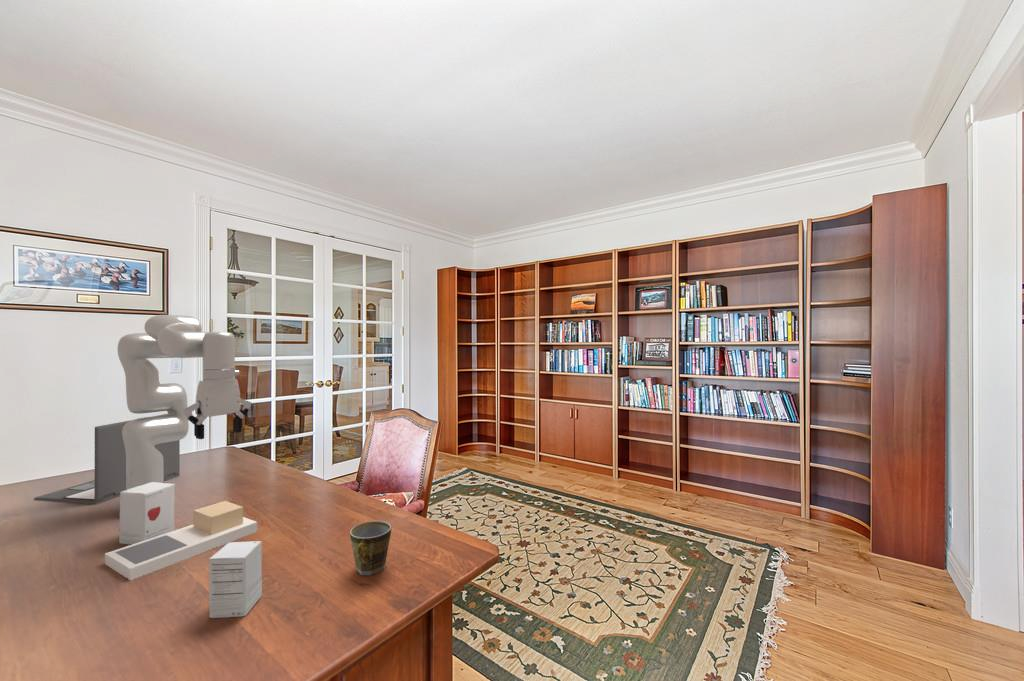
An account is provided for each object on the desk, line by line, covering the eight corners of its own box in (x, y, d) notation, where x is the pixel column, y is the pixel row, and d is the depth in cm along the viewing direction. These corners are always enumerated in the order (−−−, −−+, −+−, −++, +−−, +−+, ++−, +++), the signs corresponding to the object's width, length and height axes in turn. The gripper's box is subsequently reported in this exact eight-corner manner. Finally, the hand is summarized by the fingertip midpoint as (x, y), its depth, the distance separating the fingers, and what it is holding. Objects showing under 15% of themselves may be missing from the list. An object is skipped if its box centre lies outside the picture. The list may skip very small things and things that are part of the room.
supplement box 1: (143, 547, 118) (143, 494, 118) (118, 544, 119) (118, 491, 119) (175, 533, 126) (175, 483, 127) (151, 530, 128) (151, 481, 128)
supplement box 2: (228, 597, 95) (228, 541, 95) (263, 596, 95) (263, 540, 95) (207, 619, 87) (207, 558, 87) (245, 617, 88) (245, 556, 88)
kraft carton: (193, 527, 124) (193, 510, 124) (224, 516, 131) (224, 500, 131) (211, 535, 119) (211, 517, 119) (243, 523, 126) (243, 506, 126)
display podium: (104, 565, 108) (105, 553, 108) (229, 521, 135) (229, 512, 135) (130, 581, 101) (130, 568, 101) (257, 531, 127) (257, 521, 127)
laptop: (126, 475, 182) (126, 410, 182) (180, 478, 178) (180, 411, 178) (33, 503, 150) (34, 424, 150) (97, 507, 147) (97, 426, 147)
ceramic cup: (359, 557, 112) (359, 520, 112) (396, 558, 112) (396, 520, 112) (337, 586, 99) (337, 543, 99) (379, 587, 99) (379, 544, 99)
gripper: (243, 372, 130) (243, 428, 130) (176, 377, 115) (177, 440, 115) (257, 373, 126) (257, 430, 126) (190, 378, 111) (190, 443, 111)
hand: (219, 435), depth 120 cm, fingers open, 9 cm apart
